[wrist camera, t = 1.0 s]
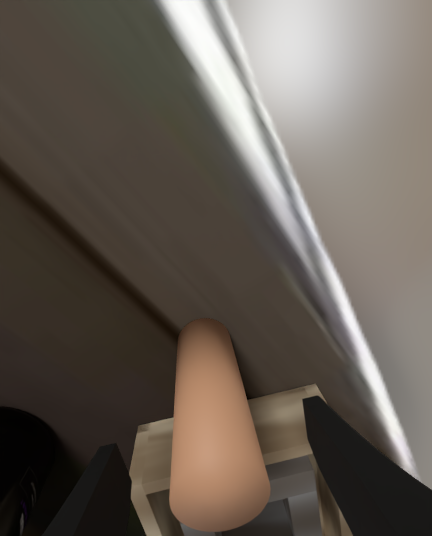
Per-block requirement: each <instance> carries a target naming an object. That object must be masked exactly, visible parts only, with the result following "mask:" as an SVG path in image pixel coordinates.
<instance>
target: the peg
mask: <svg viewBox="0 0 432 536" xmlns="http://www.w3.org/2000/svg"><path fill="white" fill-rule="evenodd" d="M270 491H271V488H270V482H269V479H268V475H267V471H266V468H265V464H264V460H263V456H262V453H261V449H260V445H259V442H258V438H257V434H256V431H255V427H254V423H253V419H252V416H251V412H250V408H249V405H248V401H247V397H246V394H245V390H244V386H243V382H242V379H241V375H240V371H239V368H238V364H237V360H236V357H235V353H234V349H233V346H232V342H231V338H230V335H229V332H228V330H227V328H226V327H225V326H224V325H223V324H222V323H220V322H219V321H216V320H214V319H209V318H201V319H197V320H194V321H192V322H190V323H188V324H187V325H186V326H185V327H184V328H183V329H182V330H181V332H180V334H179V337H178V347H177V366H176V384H175V403H174V422H173V440H172V459H171V478H170V496H169V502H170V508H171V510H172V513H173V514H174V516H175V517H176V518H177V519H178V520H179V521H180V522H181V523H183V524H184V525H186V526H188V527H190V528H193V529H196V530H199V531H206V532H220V531H226V530H231V529H234V528H237V527H240V526H242V525H244V524H246V523H248V522H250V521H251V520H253V519H254V518H255V517H256V516H258V515H259V514H260V513H261V512H262V510H263V509H264V508H265V506H266V504H267V503H268V500H269V497H270Z"/></svg>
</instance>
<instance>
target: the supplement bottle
mask: <svg viewBox="0 0 432 536" xmlns="http://www.w3.org/2000/svg"><path fill="white" fill-rule="evenodd" d="M54 459H55V446H54V442H53V439H52V437H51V435H50V433H49V431H48V430H47V429H46V427H45V426H44V425H43V424H42V423H41V422H40V421H38V420H37V419H36V418H34V417H33V416H31V415H29V414H27V413H25V412H23V411H20V410H17V409H13V408H8V407H0V536H21V535H22V533H23V530H24V528H25V526H26V524H27V522H28V520H29V517H30V515H31V513H32V511H33V509H34V507H35V504H36V502H37V500H38V498H39V496H40V494H41V491H42V489H43V487H44V485H45V483H46V480H47V478H48V476H49V474H50V471H51V469H52V466H53V463H54Z"/></svg>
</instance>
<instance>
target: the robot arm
mask: <svg viewBox="0 0 432 536" xmlns="http://www.w3.org/2000/svg"><path fill="white" fill-rule="evenodd" d="M302 402H303V409H304V417H305V424H306V432H307V439H308V442H309V444H310V447H311V449H312V452H313V455H314V457H315V460H316V462H317V465H318V467H319V469H320V471H321V473H322V475H323V477H324V479H325V481H326V483H327V485H328V487H329V489H330V491H331V493H332V495H333V497H334V499H335V501H336V503H337V505H338V507H339V509H340V511H341V513H342V515H343V517H344V519H345V521H346V523H347V525H348V527H349V529H350V530H351V532H352V534H353V536H432V490H431V489H430V488H428V487H427V486H425V485H424V484H422V483H421V482H420V481H418V480H417V479H415V478H414V477H412V476H411V475H410V474H408V473H407V472H406V471H404V470H403V469H402V468H400V467H399V466H398V465H396V464H395V463H394V462H392V461H391V460H390V459H389V458H387V457H386V456H385V455H384V454H382V453H381V452H380V451H379V450H377V449H376V448H375V447H374V446H373V445H371V444H370V443H369V442H368V441H367V440H366V439H364V438H363V437H362V436H361V435H360V434H359V433H358V432H356V431H355V430H354V429H353V428H352V427H351V426H350V425H349V424H348V423H346V422H345V421H344V420H343V419H342V418H341V417H340V416H339V415H338V414H337V413H336V412H335V411H334V410H333V409H332V408H331V407H330V406H329V405H328V404H327V403H326V402H325V401H324V400H323V399H322V398H321V397H320V396H318V395H317V396H312V397H308V398H304V399H302ZM131 489H132V480H131V477H130V475H129V473H128V470H127V468H126V465H125V463H124V461H123V458H122V456H121V453H120V451H119V449H118V446H117V444H116V443H114V444H110V445H106V446H102V447H100V448H99V449H98V451H97V452H96V454H95V456H94V457H93V459H92V460H91V462H90V463H89V465H88V467H87V468H86V470H85V471H84V473H83V475H82V476H81V478H80V479H79V481H78V482H77V484H76V486H75V487H74V489H73V490H72V492H71V493H70V495H69V496H68V498H67V499H66V501H65V502H64V504H63V505H62V507H61V509H60V510H59V512H58V513H57V515H56V516H55V518H54V519H53V520H52V522H51V523H50V525H49V526H48V528H47V529H46V530H45V532H44V533H43V535H42V536H125V535H126V530H127V524H128V519H129V512H130V501H131Z"/></svg>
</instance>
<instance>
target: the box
mask: <svg viewBox="0 0 432 536" xmlns="http://www.w3.org/2000/svg"><path fill="white" fill-rule="evenodd" d="M317 395H318V396H320V397H321V398H322V399H323V400H324V401H325V402H326V400H325V399H324V397H323V396H322V394H321V392H320V391H319V389H318V388H317V386H316V384H312V385H308V386H304V387H300V388H295V389H291V390H287V391H283V392H279V393H274V394H270V395H266V396H262V397H258V398H253V399H249V400H247V401H248V405H249V408H250V412H251V416H252V419H253V423H254V427H255V431H256V434H257V438H258V442H259V445H260V449H261V453H262V456H263V460H264V464H265V468H266V471H267V475H268V479H269V482H270V488H271V491H270V497H269V500H268V503H267V504H266V506H265V508H264V509H263V510H262V512H261V513H260V514H259V515H258V516H256V517H255V518H254V519H253V520H251V521H250V522H248V523H246V524H244V525H242V526H240V527H237V528H234V529H231V530H226V531H220V532H206V531H199V530H196V529H193V528H190V527H188V526H186V525H184V524H183V523H181V522H180V521H179V520H178V519H177V518H176V517H175V516H174V514H173V513H172V510H171V508H170V502H169V496H170V478H171V459H172V440H173V422H174V417H173V418H169V419H165V420H161V421H157V422H152V423H148V424H144V425H140V426H138V431H137V436H136V441H135V446H134V451H133V456H132V462H131V467H130V472H129V475H130V477H131V480H132V489H131V500H132V502H133V504H134V507H135V509H136V512H137V514H138V516H139V519H140V521H141V523H142V526H143V528H144V530H145V533H146V535H147V536H353V534H352V532H351V530H350V529H349V527H348V525H347V523H346V521H345V519H344V517H343V515H342V513H341V511H340V509H339V507H338V505H337V503H336V501H335V499H334V497H333V495H332V493H331V491H330V489H329V487H328V485H327V483H326V481H325V479H324V477H323V475H322V473H321V471H320V469H319V467H318V465H317V462H316V460H315V457H314V455H313V452H312V449H311V447H310V444H309V442H308V439H307V432H306V424H305V417H304V409H303V402H302V399H304V398H308V397H312V396H317ZM326 403H327V402H326Z"/></svg>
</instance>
